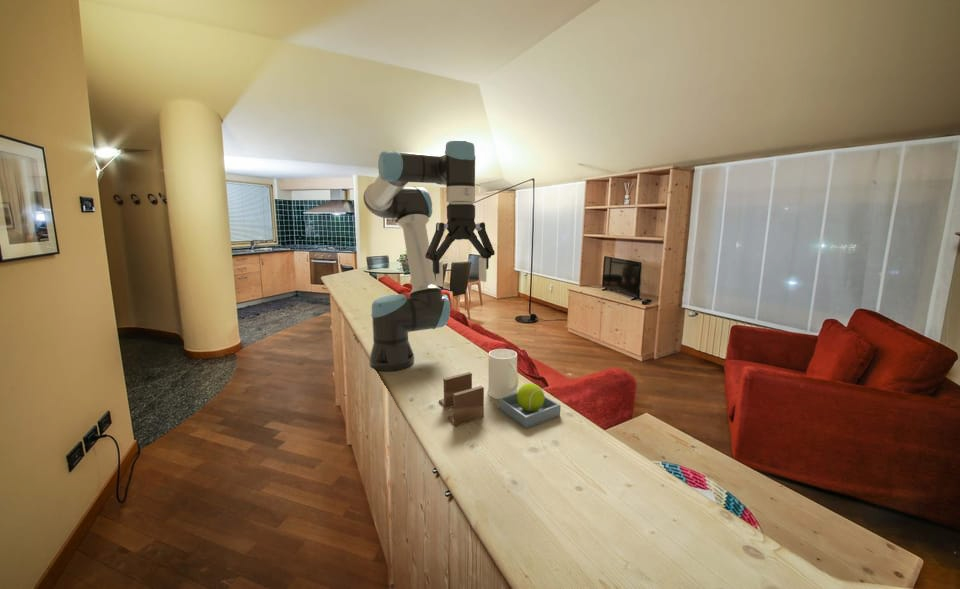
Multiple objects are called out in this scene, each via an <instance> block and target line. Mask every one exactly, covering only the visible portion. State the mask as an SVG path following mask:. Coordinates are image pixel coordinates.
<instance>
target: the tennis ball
mask: <svg viewBox="0 0 960 589" xmlns="http://www.w3.org/2000/svg"><path fill="white" fill-rule="evenodd" d="M544 396H545V393H544V391H543V389H542V388H541V387H540V386H539V385H537V384H535V383H531V382H530V383H525V384H523V385H522V386H521V387H520V388H519V389H518V390H517V401H518V404H519V405H520V407H521V408H522V409H524V410H526V411H529V412H533V411H537V410H538V409H540V408H541V407H542V405H543V403H544V400H545V397H544Z"/></svg>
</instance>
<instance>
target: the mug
mask: <svg viewBox="0 0 960 589" xmlns="http://www.w3.org/2000/svg"><path fill="white" fill-rule="evenodd" d="M519 382H520V381H519V373H518V353H517V351H515V350H513V349H508V348H497V349H493V350H490V351H489V352H488V384H487V385H488V388H487V395H488V396H489V397H490V398H493V399H494V400H499V398H502V397H505V396H509V395H512V394H515V393H518V389H517V388H518V386H519Z"/></svg>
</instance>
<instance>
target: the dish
mask: <svg viewBox="0 0 960 589" xmlns="http://www.w3.org/2000/svg"><path fill="white" fill-rule="evenodd" d="M517 393H518V392H517ZM517 393H515V394H512V395H509V396H505V397H502V398H499V399H498V408H497V409H498V410H499V411H500V412H501V413H503V414H504V415H506V416H507V417H508V418H510V419H511V420H512V421H514V422H515V423H517V424H518V425H519V426H521V427H522V428H524V429H526V430H527V429H529V428H532V427H535V426H537V425H540V424H542V423H545V422H548V421H550V420H553V419H555V418H558V417H560V416H561V404H560V403H558V402H556V401H555V400H553V399H551V398H549V397H547V396H546V395H544V397H545V400H544V403H543V405H542V407H541V408H540V409H538V410H537V411H533V412H529V411H526V410H524V409H522V408H521V407H520V405H519V404H518V401H517Z"/></svg>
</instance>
